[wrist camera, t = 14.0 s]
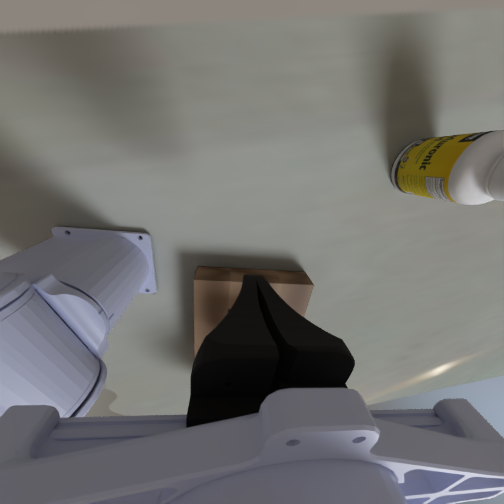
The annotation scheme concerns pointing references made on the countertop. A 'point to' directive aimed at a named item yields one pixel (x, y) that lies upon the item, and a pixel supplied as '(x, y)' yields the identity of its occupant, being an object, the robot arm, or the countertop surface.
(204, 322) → the walnut socket block
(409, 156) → the supplement bottle
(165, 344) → the countertop surface
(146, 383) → the countertop surface
